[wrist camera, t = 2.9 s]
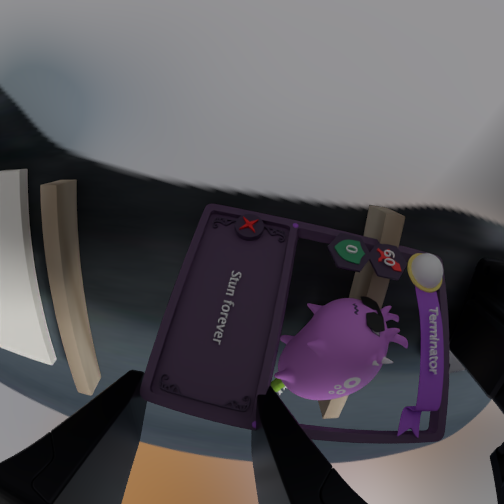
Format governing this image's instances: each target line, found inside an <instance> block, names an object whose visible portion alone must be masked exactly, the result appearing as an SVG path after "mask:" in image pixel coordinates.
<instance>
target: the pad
mask: <svg viewBox="0 0 504 504" xmlns="http://www.w3.org/2000/svg"><path fill="white" fill-rule="evenodd" d="M0 347H1V348H3V349H6V350H9V351H11V352H14V353H17V354H19V355H22V356H25V357H28V358H31V359H33V360H36V361H39V362H43V363H46V364H49V365H53V364H54V362H55V361H56V359H57V358H56V355H55V352H54V349H53V345H52V342H51V338H50V335H49V331H48V327H47V324H46V320H45V315H44V311H43V307H42V302H41V298H40V293H39V288H38V282H37V277H36V271H35V265H34V258H33V250H32V242H31V233H30V222H29V207H28V169H18V170H4V171H0Z"/></svg>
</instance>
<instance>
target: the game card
mask: <svg viewBox="0 0 504 504" xmlns="http://www.w3.org/2000/svg"><path fill="white" fill-rule="evenodd" d="M299 238H304V239H309V240H313V241H318V242H322V243H327V244H329V245H328V247H327V248H328V250H329V252H330V254H331V256H332V258H333V260H334V262H335V264H336V266H337V268H341V269H346V270H350V271H355V272H359V273H360V271H361V270H362V269H363V267H364V266H365V265H366V263H367V262H368V260H369V262H370V263H371V265H372V267H373V269H374V271H375V273H376V275H377V276H378V277H382V278H387V279H391V280H396V281H398V280H399V278H400V277H401V275H402V273H403V271H404V270H405V268H406V266H407V270H408V275H409V277H410V279H411V281H412V282H413V284H414V285H415V290H416V296H417V302H418V308H419V316H420V329H421V361H420V378H419V388H418V397H417V403H416V406H407V407H405V408H404V409H403V411H402V414H401V418H400V423H399V428H398V431H373V430H354V429H341V428H330V427H320V426H312V425H304V424H300V426H301V427H302V428H303V430H304V431H305V432H306V434H307V435H308V436H309V437H310V439H314V440H324V441H336V442H351V443H421V442H436V441H440V440H441V439H442V438H443V436H444V433H445V425H446V415H447V404H448V389H449V320H448V305H447V293H446V284H445V275H444V267H443V261H442V259H441V258H440V257H439V256H438V255H435V254H431V253H428V252H424V251H420V250H416V249H413V248H409V247H405V246H401V245H399V247H397V246H394V245H390V244H380V242H378V239H374V238H370V237H365V236H361V235H357V234H353V233H349V232H345V231H340V230H336V229H332V228H328V227H323V226H319V225H314V224H310V223H305V222H301V221H296V220H292V219H287V218H283V217H278V216H273V215H268V214H264V213H259V212H254V211H249V210H244V209H239V208H234V207H229V206H224V205H218V204H208V205H207V206H206V207H205V209H204V211H203V214H202V216H201V218H200V221H199V223H198V226H197V228H196V231H195V233H194V236H193V238H192V241H191V243H190V246H189V249H188V251H187V254H186V256H185V259H184V262H183V264H182V267H181V269H180V272H179V275H178V277H177V280H176V283H175V286H174V288H173V291H172V294H171V297H170V299H169V302H168V305H167V308H166V311H165V313H164V316H163V319H162V322H161V325H160V328H159V331H158V334H157V337H156V340H155V343H154V346H153V349H152V352H151V355H150V358H149V361H148V364H147V368H146V371H145V374H144V377H143V381H142V384H141V387H140V395H141V397H142V398H143V399H144V400H146V401H149V402H152V403H155V404H158V405H160V406H163V407H166V408H170V409H173V410H176V411H179V412H182V413H186V414H189V415H193V416H196V417H200V418H203V419H207V420H211V421H215V422H219V423H223V424H227V425H231V426H236V427H240V428H245V429H250V430H255V431H256V409H257V396H258V395H259V394H264V395H266V393H267V391H268V389H269V387H270V385H271V386H272V388H273V389H274V391H275V392H278V393H279V395H280V393H283V392H282V391H281V390H280V389H281V388H283V389H284V390H285V388H288V389H289V390H290V391H291V392H293V393H294V394H296V395H298V396H300V397H303V398H306V399H311V400H330V399H336V398H340V397H343V396H347V395H349V394H352V393H354V392H356V391H358V390H359V389H361V388H362V387H364V386H365V385H367V384H368V383H369V382H370V381H371V380H372V379H373V378H374V377H375V376H376V374H377V373H378V371H379V370H380V368H381V367H382V365H383V364H390V363H393V361H391V360H390V359H388V358H386V354H387V350H388V344H389V343H390V342H396V343H398V344H400V345H402V346H403V347H405V348H406V349H407V348H408V341H407V339H406V338H405V337H403V336H401V335H399V334H397V333H398V332H400V329H398V328H389V329H388V328H387V325H386V321H388V320H394V321H396V322H398V321H399V316H398V315H396V314H392V313H388V312H389V310H390V309H391V307H392V306H385V307H384V308H382V309H380V308H379V306H378V304H377V302H376V301H374V300H372V299H371V298H369V297H364V296H361V300H359V299H354V298H341V299H337V300H334V301H331V302H329V303H327V304H326V305H323V306H321V305H316V304H311V303H307V306H308V307H309V308H310V310H311V311H312V312H313V313H314V316H313V317H312V319H311V320H310V321H309V322H308V323H307V324H306V325H305V326H304V327H303V329H302V330H300V331H299V332H298V333H297V334H296V335H295V336H289V335H282V336H281V331H282V326H283V321H284V315H285V310H286V305H287V299H288V294H289V288H290V282H291V277H292V271H293V265H294V259H295V253H296V247H297V241H298V239H299ZM406 262H408V264H407V263H406ZM280 340H281V341H282V342H284V343H285V344H286V347H285V348H284V350H283V352H282V354H281V356H280V358H279V363H278V371H279V372H277V373H275V375H274V376H275V377H276V379H275V380H274V381H272V382H271V380H272V375H273V371H274V366H275V361H276V356H277V351H278V346H279V341H280ZM256 391H257V393H256ZM422 411H431V412H430V421H429V428H428V429H427V430H425V431H419V423H420V415H421V412H422ZM408 429H412V431H406V430H408Z"/></svg>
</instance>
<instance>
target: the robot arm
mask: <svg viewBox="0 0 504 504" xmlns="http://www.w3.org/2000/svg"><path fill="white" fill-rule="evenodd" d="M463 370H467V371H468V373H469V374H470V375H471V376H472V378H473V379H474V380H475V381H476V382H477V384H478V385H479V386H480V387H481V389H482V390H483V391H484V393H485V394H486V395H487V396H488V398H490V399H492V400H493V401H494V402H495V403H496V404H497V406H498V407H499V409H500V410H501V411H502V413H503V414H504V261H503V260H496V259H489V258H482V259H481V260H480V261H479V262H478V264H477V266H476V269H475V272H474V275H473V278H472V281H471V284H470V287H469V290H468V293H467V295H466V298H465V301H464V304H463V306H462V309H461V311H460V314H459V316H458V319H457V321H456V324H455V326H454V328H453V331H452V333H451V335H450V337H449V373H452V372H457V371H463ZM144 374H145V373H144V372H142V371H136V370H130V371H128V372H127V373H126V374H125V375H123V376H122V377H121V378H119V379H118V380H117V381H116V382H114V383H113V384H112V385H110V386H109V387H108V388H107V389H105V390H104V391H103V392H101V393H100V394H99V395H97V396H96V397H95V398H94V399H92V400H91V401H90V402H88V403H87V404H86V405H84V406H83V407H82V408H80V409H79V410H78V411H77V412H75V413H74V414H73V415H71V416H70V417H69V418H67V419H66V420H65V421H64V422H62V423H61V424H60V425H58V426H57V427H55V428H54V429H53V430H52V431H51V432H49V433H47V434H46V435H45V436H43V437H42V438H41V439H39V440H38V441H36V442H35V443H33V444H32V445H30V446H29V447H27V448H26V449H24V450H22V451H21V452H19V453H17V454H16V455H14V456H12V457H10V458H8V459H6V460H5V461H3V462H1V463H0V504H121V503H122V499H123V496H124V492H125V489H126V485H127V482H128V478H129V475H130V471H131V468H132V465H133V461H134V458H135V455H136V451H137V448H138V445H139V441H140V437H141V431H142V425H143V420H144V414H145V409H146V404H147V401H146V400H144V399H143V398H142V397H141V395H140V387H141V384H142V381H143V377H144ZM256 393H257V391H256ZM251 447H252V461H253V468H254V475H255V482H256V489H257V495H258V502H259V504H368V503H366V502H365V501H364V500H363V499H362V498H361V497H360V496H359V495H358V494H357V493H356V492H355V491H354V490H352V489H351V487H350V486H349V485H348V484H347V483H346V482H345V481H344V480H343V479H342V477H341V476H340V475H339V474H338V472H337V471H336V470H335V469H334V468H332V465H331V464H330V463H329V461H328V460H327V459H326V458H325V457H324V455H323V454H322V453H321V451H320V450H319V449H318V448H317V446H316V445H315V444H314V443H313V441H312V440H311V439H310V437H309V436H308V435H307V434H306V432H305V431H304V430H303V428H302V427H301V426H300V424H299V423H298V422H297V420H296V419H295V418H294V416H293V415H292V414H291V412H290V411H289V410H288V408H287V407H286V406H285V404H284V403H283V402H282V400H281V399H280V398H279V396H278V395H277V393H276V392H275V391H274V389H273V388H272V386H271V385H270V387H269V389H268V391H267V393H266V395H264V394H259V395H258V396H257V409H256V431H255V430H252V441H251ZM490 461H491V465H492V470H493V475H494V481H495V487H496V493H497V501H498V504H504V442H503V443H502V445H501V446H499V447H497V448H496V449H495V451H494V452H493V453H492V454H491V455H490Z"/></svg>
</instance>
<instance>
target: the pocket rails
mask: <svg viewBox="0 0 504 504" xmlns="http://www.w3.org/2000/svg"><path fill="white" fill-rule="evenodd" d="M40 190H41V215H42V229H43V239H44V249H45V257H46V264H47V271H48V278H49V284H50V289H51V295H52V300H53V305H54V309H55V314H56V318H57V323H58V327H59V331H60V335H61V339H62V342H63V346H64V350H65V353H66V357H67V360H68V363H69V366H70V370H71V373H72V376H73V379H74V382H75V384H76V387H77V390H78V392H80V393H83V394H87V395H91V396H92V394H93V392H94V390H95V388H96V386H97V384H98V382H99V380H100V378H101V374H100V370H99V366H98V362H97V358H96V354H95V350H94V345H93V340H92V336H91V331H90V325H89V320H88V314H87V308H86V302H85V296H84V289H83V281H82V273H81V264H80V253H79V241H78V224H77V180H58V181H54V182H50V183H46V184H43V185H40ZM404 220H405V216H403V215H401V214H399V213H397V212H395V211H393V210H390V209H388V208H385V207H379V206H373V205H369V209H368V215H367V220H366V225H365V230H364V235H363V236H365V237H370V238H374V239H378V242H380V244H390V245H394V246H397V247H399V243H400V239H401V234H402V230H403V225H404ZM389 281H390V279H387V278H382V277H378V276H377V275H376V273H375V271H374V269H373V267H372V265H371V263H370V262H369V260H368V262H367V263H366V265H365V266H364V267H363V269H362V270H361V271H360V273H359V272H355V275H354V279H353V283H352V287H351V291H350V295H349V298H354V299H359V300H361V296H364V297H369V298H371V299H372V300H374V301H376V302H377V304H378V306H379V308H380V309H381V308H382V305H383V301H384V298H385V295H386V291H387V288H388V285H389ZM347 397H348V395H347V396H343V397H340V398H336V399H330V400H318V402H319V406H320V409H321V413H322V417H323V419H326V418H338V417H339V415H340V413H341V410H342V408H343V406H344V404H345V402H346V400H347Z"/></svg>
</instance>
